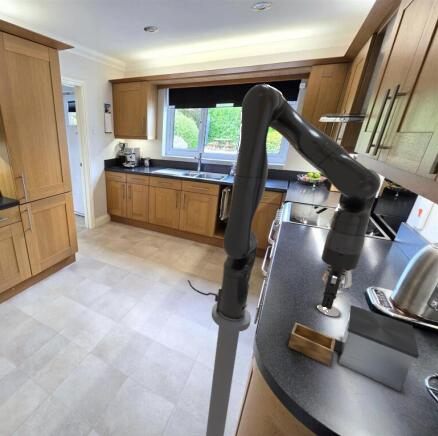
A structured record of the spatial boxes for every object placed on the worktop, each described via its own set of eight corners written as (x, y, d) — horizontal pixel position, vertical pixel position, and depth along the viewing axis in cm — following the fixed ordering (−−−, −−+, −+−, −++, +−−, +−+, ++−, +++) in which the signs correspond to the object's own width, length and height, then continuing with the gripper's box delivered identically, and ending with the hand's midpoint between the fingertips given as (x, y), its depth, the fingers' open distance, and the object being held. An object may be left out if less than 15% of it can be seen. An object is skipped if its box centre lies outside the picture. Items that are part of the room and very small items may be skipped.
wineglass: (338, 307, 90) (351, 264, 85) (345, 321, 83) (359, 275, 78) (313, 301, 93) (323, 259, 88) (317, 314, 86) (328, 269, 81)
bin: (330, 360, 68) (340, 325, 64) (334, 334, 77) (344, 302, 74) (402, 393, 59) (419, 355, 55) (397, 360, 68) (412, 325, 65)
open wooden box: (288, 346, 72) (291, 333, 71) (292, 335, 77) (295, 322, 75) (328, 366, 66) (333, 351, 65) (331, 352, 71) (335, 338, 69)
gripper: (328, 235, 70) (315, 284, 75) (321, 251, 60) (307, 306, 65) (361, 242, 65) (346, 294, 70) (361, 261, 55) (343, 319, 60)
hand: (327, 300), depth 68 cm, fingers open, 8 cm apart
